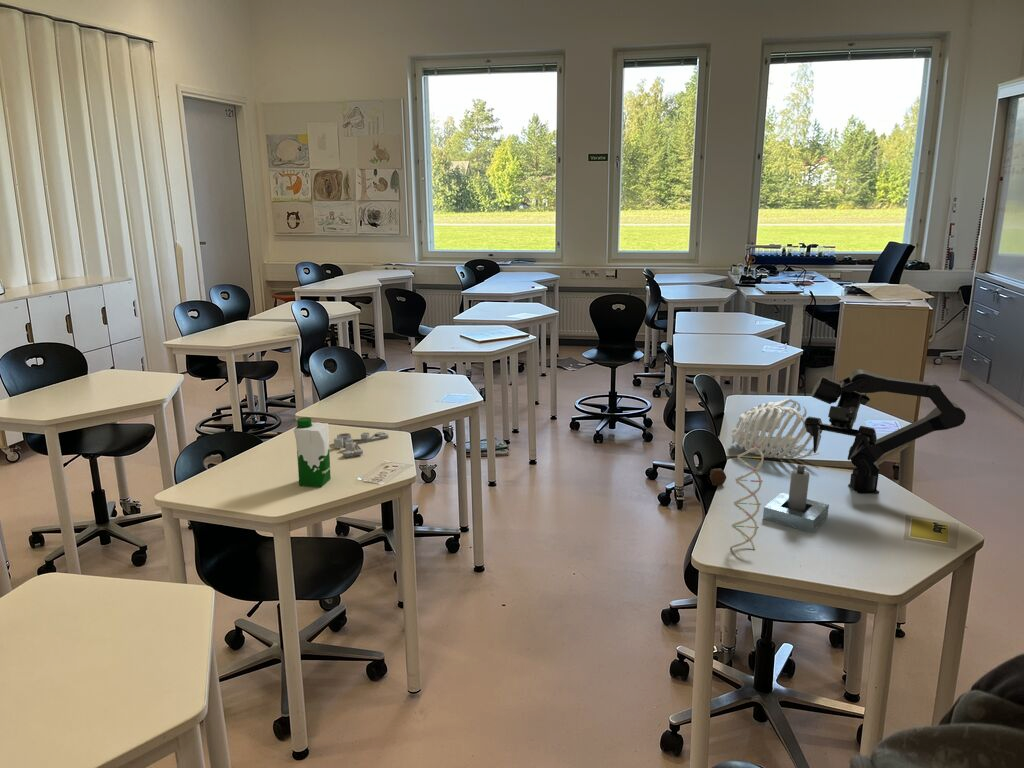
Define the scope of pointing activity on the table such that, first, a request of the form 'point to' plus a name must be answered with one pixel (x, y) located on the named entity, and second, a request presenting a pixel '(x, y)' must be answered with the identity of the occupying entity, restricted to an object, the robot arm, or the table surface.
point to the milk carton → (312, 453)
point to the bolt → (717, 477)
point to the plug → (798, 489)
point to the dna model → (749, 492)
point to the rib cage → (772, 430)
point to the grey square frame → (796, 513)
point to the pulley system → (348, 443)
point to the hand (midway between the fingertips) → (831, 455)
